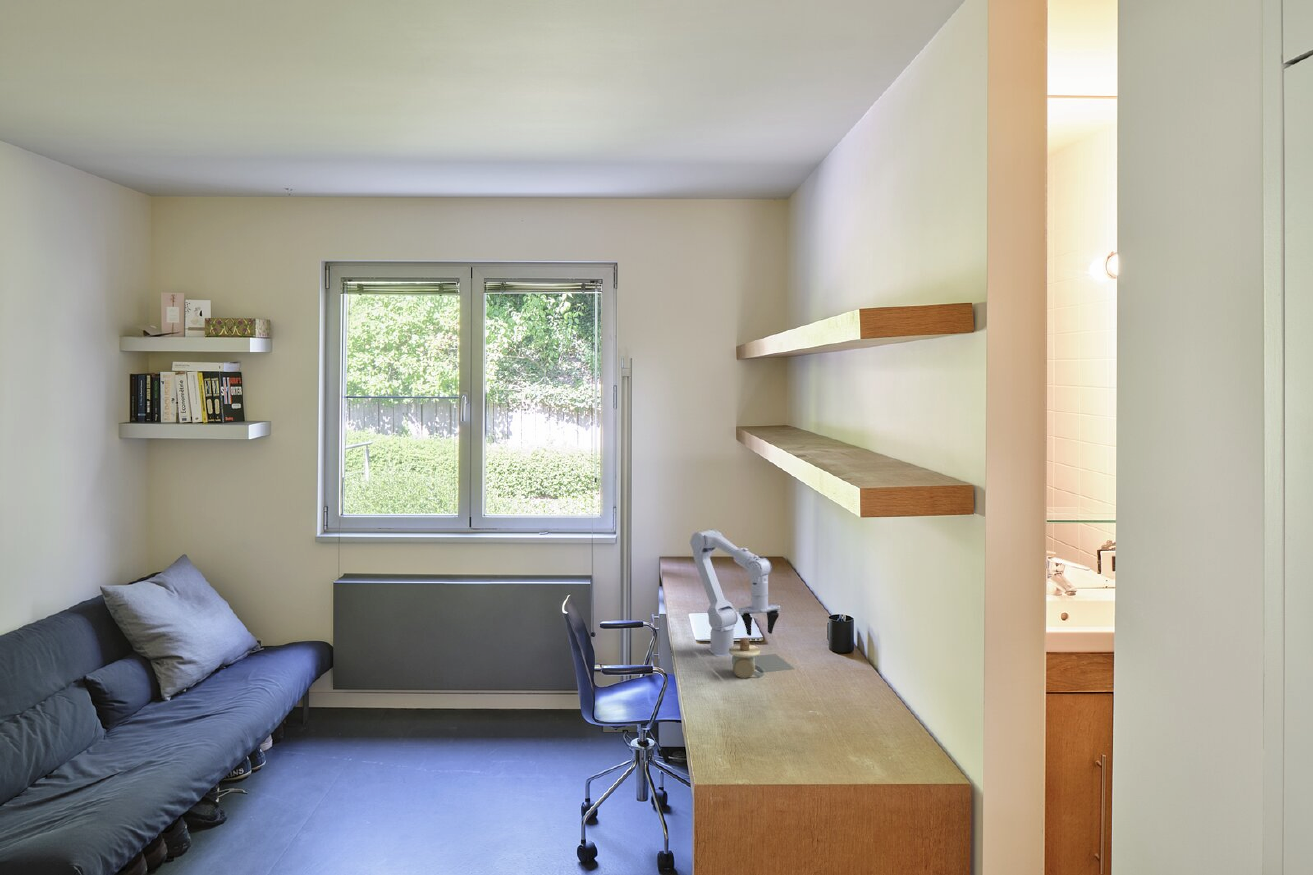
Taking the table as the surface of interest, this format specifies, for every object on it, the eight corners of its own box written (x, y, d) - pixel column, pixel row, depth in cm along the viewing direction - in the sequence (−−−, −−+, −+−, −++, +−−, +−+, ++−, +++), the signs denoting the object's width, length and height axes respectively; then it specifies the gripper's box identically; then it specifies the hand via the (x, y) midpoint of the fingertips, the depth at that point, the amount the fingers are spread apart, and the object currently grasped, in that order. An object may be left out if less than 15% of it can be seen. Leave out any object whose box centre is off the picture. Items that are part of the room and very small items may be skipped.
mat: (743, 658, 285) (743, 656, 285) (775, 654, 288) (775, 653, 288) (761, 673, 270) (761, 672, 270) (794, 670, 273) (794, 668, 273)
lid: (724, 648, 272) (724, 636, 272) (754, 645, 275) (754, 633, 274) (734, 658, 262) (734, 645, 262) (765, 655, 265) (765, 643, 264)
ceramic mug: (732, 679, 265) (733, 656, 264) (731, 670, 273) (732, 648, 272) (765, 680, 264) (765, 657, 263) (763, 671, 272) (764, 649, 272)
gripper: (743, 599, 272) (743, 639, 273) (784, 595, 276) (784, 635, 277) (736, 594, 279) (736, 633, 280) (775, 590, 283) (775, 629, 284)
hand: (759, 633), depth 279 cm, fingers open, 7 cm apart
